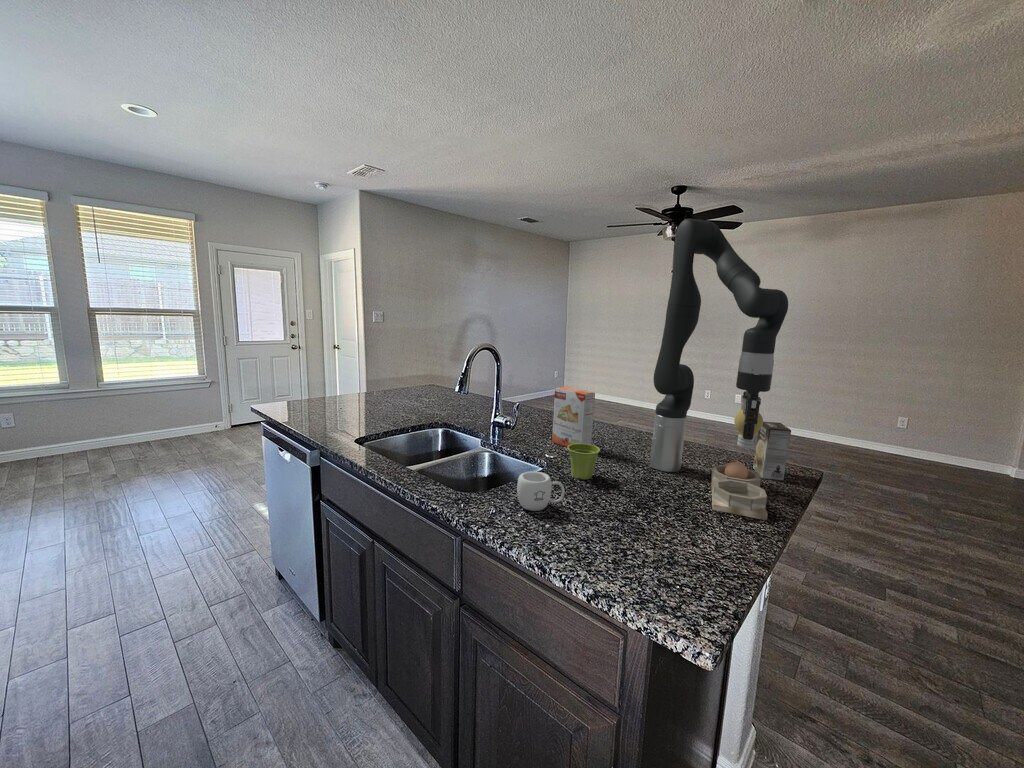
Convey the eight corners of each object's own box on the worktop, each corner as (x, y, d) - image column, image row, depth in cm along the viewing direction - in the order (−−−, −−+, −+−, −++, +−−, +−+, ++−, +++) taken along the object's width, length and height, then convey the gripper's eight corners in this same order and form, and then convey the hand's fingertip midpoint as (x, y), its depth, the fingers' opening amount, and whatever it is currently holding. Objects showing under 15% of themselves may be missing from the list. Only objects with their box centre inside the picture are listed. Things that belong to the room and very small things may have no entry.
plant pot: (576, 484, 124) (578, 454, 122) (559, 472, 132) (561, 444, 131) (604, 480, 127) (606, 451, 126) (586, 468, 136) (588, 442, 134)
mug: (519, 514, 104) (520, 483, 102) (513, 499, 112) (515, 470, 111) (568, 513, 105) (570, 482, 104) (559, 498, 114) (561, 469, 112)
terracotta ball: (723, 483, 124) (726, 463, 123) (722, 477, 130) (725, 457, 129) (747, 488, 122) (750, 467, 121) (745, 480, 127) (748, 461, 126)
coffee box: (751, 468, 143) (758, 420, 140) (773, 470, 142) (780, 422, 139) (761, 478, 134) (769, 427, 131) (784, 480, 133) (792, 429, 130)
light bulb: (725, 443, 114) (730, 406, 113) (749, 443, 115) (754, 406, 113) (740, 451, 108) (745, 412, 107) (764, 451, 109) (770, 412, 107)
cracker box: (550, 442, 161) (554, 387, 158) (561, 440, 166) (565, 385, 162) (580, 452, 151) (585, 393, 148) (591, 449, 155) (595, 391, 152)
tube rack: (712, 509, 111) (714, 493, 110) (711, 476, 134) (712, 462, 133) (766, 520, 106) (769, 502, 105) (755, 483, 129) (757, 469, 129)
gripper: (736, 366, 116) (728, 427, 119) (740, 372, 103) (731, 440, 106) (768, 369, 113) (759, 431, 116) (776, 375, 100) (766, 445, 103)
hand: (746, 435), depth 111 cm, fingers closed on light bulb, 6 cm apart
